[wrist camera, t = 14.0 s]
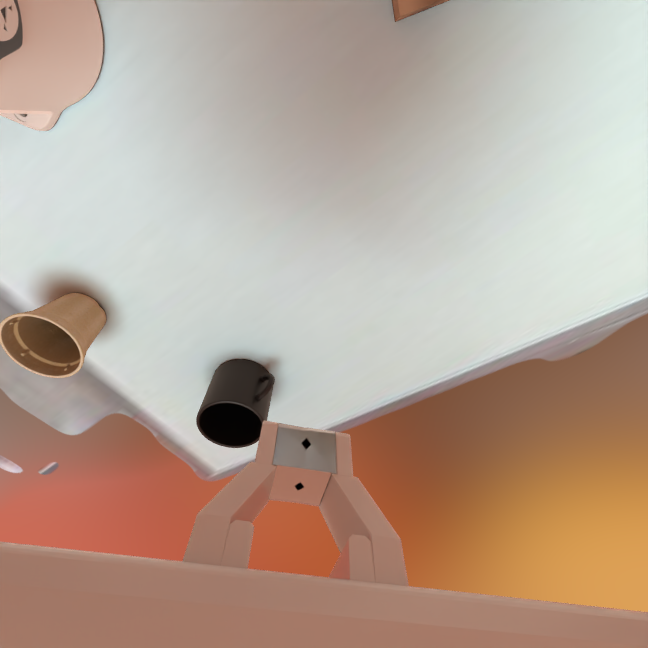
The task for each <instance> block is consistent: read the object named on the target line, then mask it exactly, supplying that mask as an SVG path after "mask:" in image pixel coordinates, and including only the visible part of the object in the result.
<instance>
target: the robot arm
mask: <svg viewBox="0 0 648 648" xmlns="http://www.w3.org/2000/svg"><path fill="white" fill-rule="evenodd" d="M102 58H103V36H102V28H101V22H100V18H99V14H98V10H97V7H96V4H95V1H94V0H0V115H1V116H3V117H6V118H8V119H11V120H13V121H15V122H18V123H20V124H22V125H25V126H27V127H29V128H32V129H34V130H39V131H48V130H50V129H51V128H52V127H53V126H54V125H55V123H56V121H57V119H58V118H59V116H60V114H61V112H62V111H63V110H64V109H65V108H67V107H68V106H70V105H72V104H74V103H76V102H78V101H79V100H81V99H82V98H83V97H85V96H86V95H87V94H88V93H89V91H90V90H91V89H92V87H93V86H94V84H95V82H96V80H97V78H98V75H99V72H100V69H101V64H102ZM25 114H27V116H26V115H25ZM269 500H275V501H285V502H294V503H301V504H307V505H313V506H319V509H320V511H321V513H322V515H323V517H324V519H325V521H326V523H327V525H328V528H329V529H330V532H331V534H332V536H333V538H334V540H335V542H336V544H337V546H338V549H339V551H340V553H341V554H340V557H339V558H338V560H337V562H336V564H335V566H334V568H333V570H332V572H331V574H330V576H329V577H319V576H311V575H300V574H292V573H283V572H273V571H265V570H255V569H248V562H249V556H250V549H251V544H252V536H253V530H254V526H253V525H252V522H253V521H254V520H255V518H256V517H257V516H258V515H259V513H260V512H261V511H262V509H263V508H264V507H265V505H266V504H267V503H268V501H269ZM0 648H648V612H640V611H630V610H621V609H613V608H604V607H595V606H584V605H575V604H567V603H557V602H548V601H539V600H530V599H521V598H512V597H502V596H493V595H483V594H474V593H465V592H456V591H447V590H438V589H428V588H420V587H410V586H408V580H407V574H406V568H405V562H404V556H403V550H402V544H401V539H400V538H399V536H398V535H397V533H396V532H395V531H394V529H393V528H392V526H391V525H390V523H389V522H388V520H387V519H386V518H385V516H384V515H383V514H382V512H381V510H380V509H379V508H378V506H377V505H376V503H375V502H374V501H373V499H372V498H371V496H370V495H369V493H368V492H367V490H366V489H365V487H364V486H363V485H362V483H361V482H360V480H359V479H358V478H357V477H353V467H352V455H351V440H350V435H349V434H345V433H339V432H334V431H327V430H320V429H313V428H303V427H298V426H293V425H287V424H282V423H275V422H270V421H263V424H262V428H261V433H260V438H259V443H258V448H257V453H256V459H255V462H250V463H249V464H248V465H247V466H246V467H245V468H244V469H243V470H242V471H241V472H240V473H239V474H238V475H236V476H235V477H234V478H233V480H231V481H230V482H229V484H227V485H226V486H225V487H224V488H223V489H222V490H221V491H220V492H219V493H218V494H217V495H216V496H215V497H214V498H213V499H212V500H211V501H210V502H209V503H208V504H207V505H206V506H205V507H204V508H203V509H202V510H201V511H200V512H199V513H198V514H197V517H196V520H195V524H194V527H193V530H192V533H191V536H190V539H189V542H188V546H187V549H186V552H185V555H184V558H183V561H182V562H181V561H173V560H163V559H153V558H145V557H135V556H126V555H118V554H108V553H99V552H89V551H81V550H72V549H62V548H53V547H43V546H35V545H26V544H16V543H7V542H0Z"/></svg>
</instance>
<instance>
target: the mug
mask: <svg viewBox="0 0 648 648" xmlns="http://www.w3.org/2000/svg"><path fill="white" fill-rule="evenodd" d="M273 384H274V377H273V375H272V374H269V373H268V371H267V370H266V369H265V368H263V367H262V366H261V365H259V364H257V363H255V362H252V361H249V360H240V359H238V360H231V361H228V362H226V363H224V364H222V365H221V366H220V367H218V369H217V370H216V371H215V373H214V376H213V378H212V380H211V383H210V385H209V388H208V390H207V393H206V395H205V397H204V400H203V402H202V405H201V407H200V410H199V412H198V415H197V427H198V429H199V431H200V432H201V434H202V435H203V436H204V437H206V438H207V439H208V440H210V441H211V442H213V443H215V444H218V445H221V446H225V447H231V448H241V447H247V446H250V445H252V444H254V443H256V442H257V441H259V438H260V433H261V428H262V424H263V421H267V417H268V411H269V406H270V401H271V395H272V390H273Z"/></svg>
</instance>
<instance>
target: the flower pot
mask: <svg viewBox="0 0 648 648" xmlns="http://www.w3.org/2000/svg"><path fill="white" fill-rule="evenodd" d="M105 323H106V315H105V312H104V310H103V309H102V308H101V307H100V306H99V305H98V303H97V302H96V301H95V300H94V299H92V298H91V297H89V296H86V295H84V294H80V293H70V294H66V295H64V296H62V297H60V298H58V299H56V300H54V301H52V302H50V303H48V304H46V305H44V306H42V307H40V308H38V309H35V310H33V311H29V312H25V313H17V314H13V315H11V316H9V317H7V318H6V319H4V320H3V321H2V322H1V324H0V344H1V346H2V347H3V349H4V350H5V352H6V353H7V354H8V356H9V357H10V358H11V359H12V360H14V361H15V362H16V363H17V364H19V365H20V366H22V367H23V368H25V369H27V370H29V371H31V372H33V373H36V374H39V375H42V376H46V377H52V378H63V377H69V376H71V375H74V374H75V373H77V372H78V371H79V370H80V368H81V367H82V365H83V363H84V357H85V355H86V351H87V350H88V348H89V347H90V345H91V344H92V342H93V341H94V339H95V338H96V336H97V335H98V334H99V332H100V331H101V329H102V328H103V327H104V325H105Z"/></svg>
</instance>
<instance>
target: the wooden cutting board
mask: <svg viewBox="0 0 648 648" xmlns="http://www.w3.org/2000/svg"><path fill="white" fill-rule="evenodd" d="M447 1H449V0H392V4H393V10H394V17H395V22H396V21H399V20H401V19H404V18H406V17H409V16H411V15H414V14H416V13H419V12H421V11H424V10H426V9H429V8H431V7H434V6H437V5H439V4H442V3H444V2H447Z"/></svg>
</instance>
